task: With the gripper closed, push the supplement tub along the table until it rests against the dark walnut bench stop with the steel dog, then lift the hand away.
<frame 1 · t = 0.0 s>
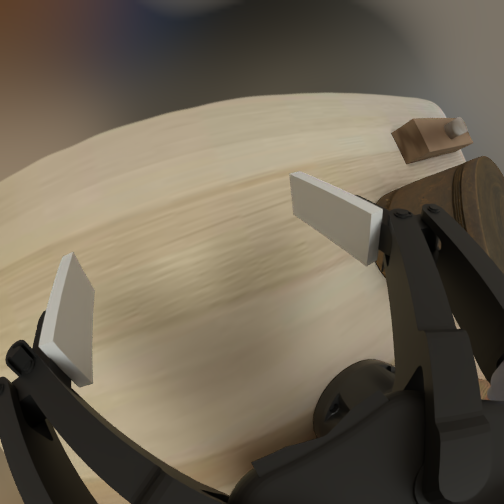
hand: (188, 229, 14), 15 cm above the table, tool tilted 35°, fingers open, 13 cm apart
bench stop: (428, 143, 42), on the table
wooden container: (402, 238, 37), on the table
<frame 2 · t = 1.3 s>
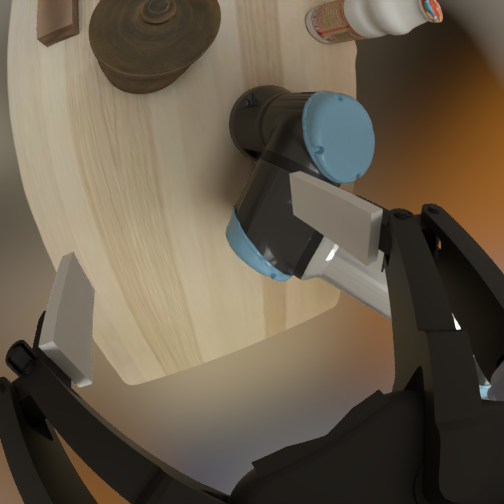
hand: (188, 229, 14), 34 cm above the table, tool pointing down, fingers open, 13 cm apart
wooden container: (145, 54, 33), on the table
fruit juice: (322, 26, 40), on the table
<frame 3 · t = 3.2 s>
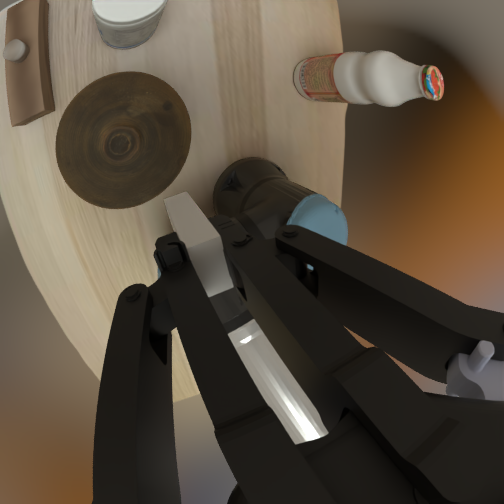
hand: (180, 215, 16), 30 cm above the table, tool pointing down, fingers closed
supplement tub: (128, 26, 28), on the table
bench stop: (33, 60, 22), on the table
wooden container: (125, 133, 37), on the table
fruit juice: (311, 79, 45), on the table
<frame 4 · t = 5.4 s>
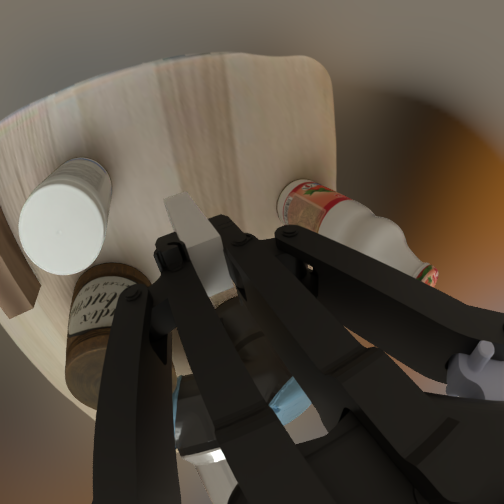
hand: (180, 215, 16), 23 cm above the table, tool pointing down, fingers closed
supplement tub: (81, 190, 31), on the table
wooden container: (114, 299, 41), on the table
fruit juice: (297, 202, 48), on the table
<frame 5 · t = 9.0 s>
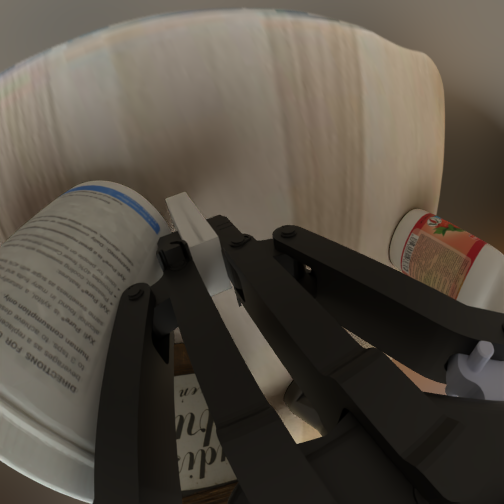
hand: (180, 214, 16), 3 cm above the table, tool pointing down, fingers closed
supplement tub: (115, 244, 16), point 2 cm above the table, touching gripper, hand
wooden container: (174, 384, 28), on the table
fruit juice: (406, 236, 35), on the table
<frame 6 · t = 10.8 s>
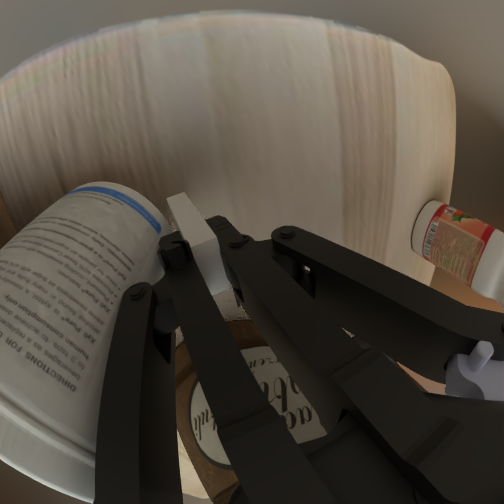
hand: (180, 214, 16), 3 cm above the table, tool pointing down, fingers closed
supplement tub: (117, 245, 16), point 2 cm above the table, touching gripper, hand
bench stop: (15, 288, 15), on the table
wooden container: (223, 366, 29), on the table
fruit juice: (424, 225, 37), on the table
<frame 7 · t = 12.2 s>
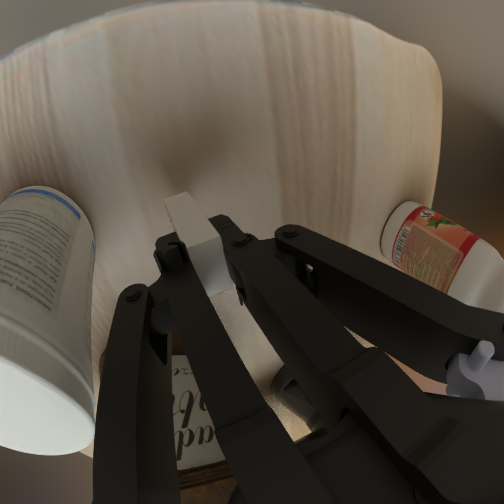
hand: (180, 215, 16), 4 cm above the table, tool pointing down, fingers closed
supplement tub: (43, 241, 16), on the table
wooden container: (160, 367, 28), on the table
fruit juice: (398, 228, 35), on the table
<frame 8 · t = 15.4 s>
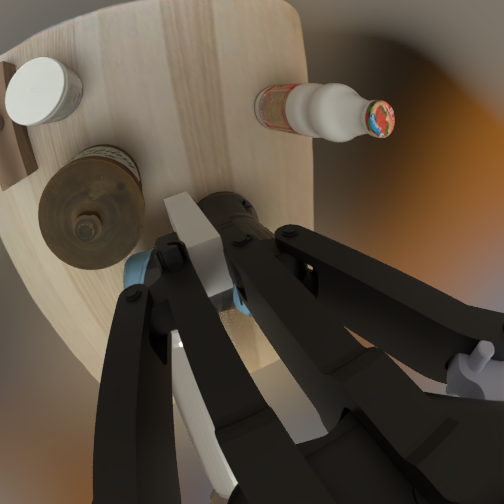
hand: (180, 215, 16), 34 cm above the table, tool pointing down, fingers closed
supplement tub: (59, 96, 31), on the table
bench stop: (11, 123, 28), on the table
wooden container: (102, 183, 43), on the table
fruit juice: (273, 107, 49), on the table
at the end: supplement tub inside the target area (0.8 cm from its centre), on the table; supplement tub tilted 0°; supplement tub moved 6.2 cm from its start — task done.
